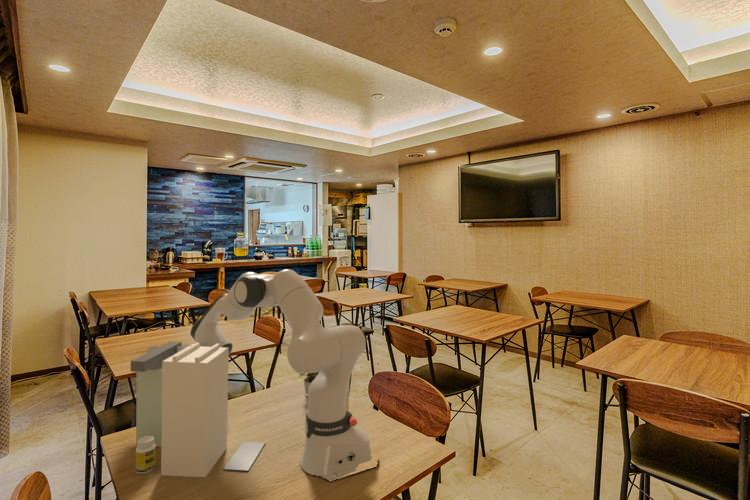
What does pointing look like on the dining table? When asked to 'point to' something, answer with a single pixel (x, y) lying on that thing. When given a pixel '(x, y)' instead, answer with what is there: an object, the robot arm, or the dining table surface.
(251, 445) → the plate
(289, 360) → the robot arm
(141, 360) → the bar
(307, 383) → the house plant
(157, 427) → the pale green block
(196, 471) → the outlet wall
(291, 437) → the dining table surface
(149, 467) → the supplement bottle
